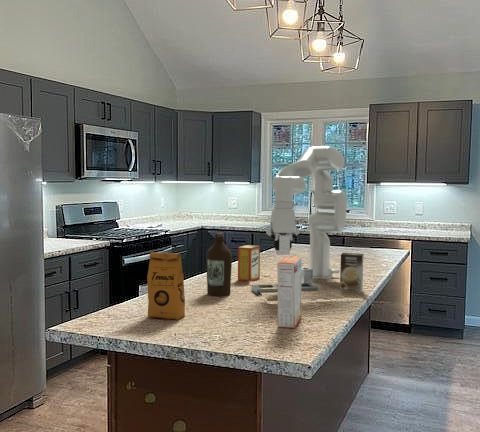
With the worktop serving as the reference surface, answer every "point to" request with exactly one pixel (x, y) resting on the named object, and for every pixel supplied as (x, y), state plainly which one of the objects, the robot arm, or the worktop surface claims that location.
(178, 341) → the worktop surface
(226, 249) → the olive oil
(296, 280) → the cracker box
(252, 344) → the worktop surface
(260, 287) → the tray with square compartments
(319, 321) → the worktop surface
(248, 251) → the baking soda box
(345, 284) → the coffee box
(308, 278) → the block with ball knob
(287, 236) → the grey block with knob
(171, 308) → the coffee package
